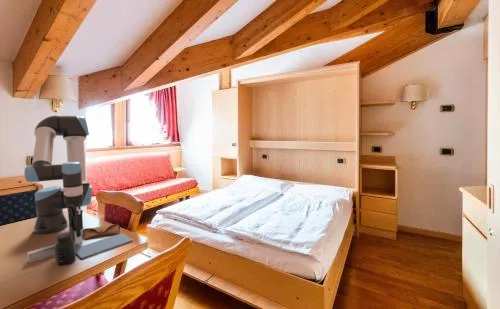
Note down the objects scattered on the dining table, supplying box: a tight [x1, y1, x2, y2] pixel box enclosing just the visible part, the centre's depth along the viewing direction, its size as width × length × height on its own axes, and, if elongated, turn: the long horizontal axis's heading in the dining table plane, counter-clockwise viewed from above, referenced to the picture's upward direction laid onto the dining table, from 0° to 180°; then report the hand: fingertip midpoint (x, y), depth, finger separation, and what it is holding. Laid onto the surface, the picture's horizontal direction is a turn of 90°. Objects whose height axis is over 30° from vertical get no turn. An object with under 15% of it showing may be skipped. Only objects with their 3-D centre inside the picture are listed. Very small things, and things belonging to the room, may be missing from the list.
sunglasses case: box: [82, 223, 121, 241], centre depth 139 cm, size 18×7×7 cm, turn 120°
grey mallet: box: [26, 224, 83, 263], centre depth 118 cm, size 4×20×11 cm, turn 141°
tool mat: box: [75, 232, 134, 260], centre depth 126 cm, size 12×23×1 cm, turn 141°
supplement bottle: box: [55, 233, 77, 267], centre depth 111 cm, size 7×7×12 cm
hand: (77, 241), depth 125 cm, fingers closed on grey mallet, 4 cm apart
